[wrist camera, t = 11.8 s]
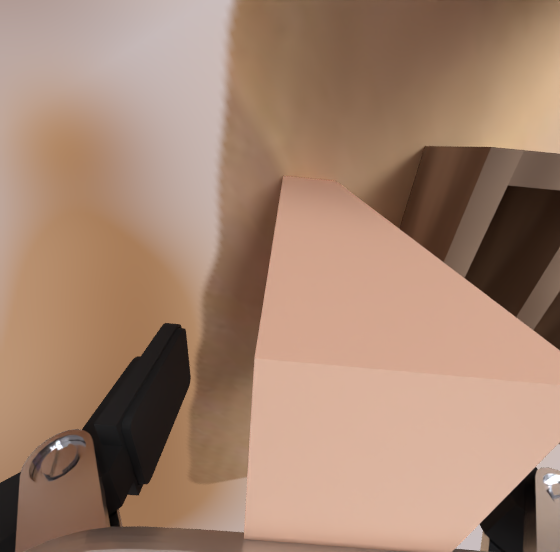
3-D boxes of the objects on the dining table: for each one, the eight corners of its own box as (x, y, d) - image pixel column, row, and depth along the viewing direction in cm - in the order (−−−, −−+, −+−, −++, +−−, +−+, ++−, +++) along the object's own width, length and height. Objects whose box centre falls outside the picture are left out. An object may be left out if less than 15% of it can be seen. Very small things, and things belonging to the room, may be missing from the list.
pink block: (335, 180, 15) (610, 389, 2) (306, 343, 20) (337, 667, 8) (283, 175, 15) (254, 357, 2) (268, 339, 20) (236, 660, 8)
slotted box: (717, 174, 14) (919, 189, 9) (547, 385, 21) (616, 448, 17) (425, 146, 14) (491, 147, 9) (356, 369, 21) (374, 429, 17)
